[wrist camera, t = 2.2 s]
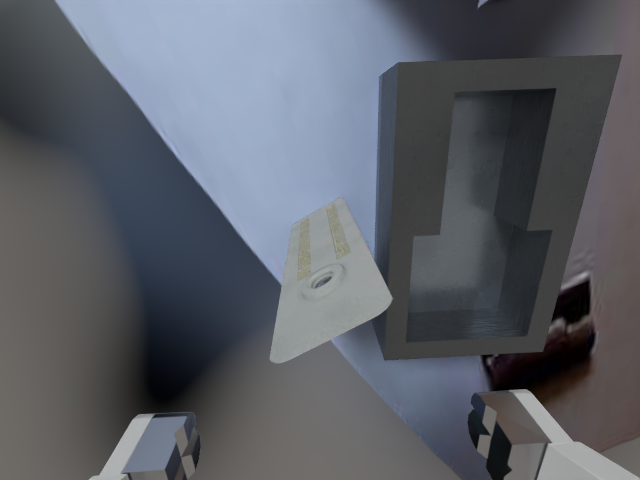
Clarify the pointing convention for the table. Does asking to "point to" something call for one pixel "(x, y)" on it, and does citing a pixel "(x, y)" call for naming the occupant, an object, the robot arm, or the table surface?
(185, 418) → the robot arm
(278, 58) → the table surface
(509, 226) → the desk organizer
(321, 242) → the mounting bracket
